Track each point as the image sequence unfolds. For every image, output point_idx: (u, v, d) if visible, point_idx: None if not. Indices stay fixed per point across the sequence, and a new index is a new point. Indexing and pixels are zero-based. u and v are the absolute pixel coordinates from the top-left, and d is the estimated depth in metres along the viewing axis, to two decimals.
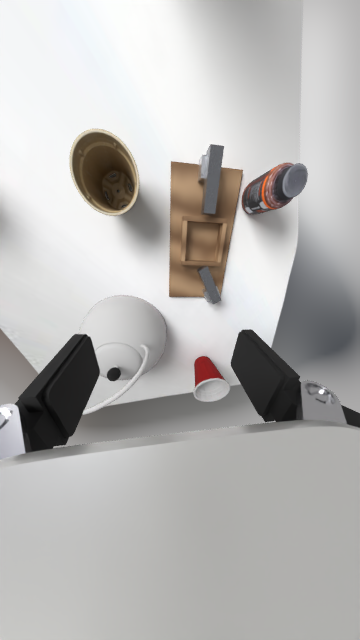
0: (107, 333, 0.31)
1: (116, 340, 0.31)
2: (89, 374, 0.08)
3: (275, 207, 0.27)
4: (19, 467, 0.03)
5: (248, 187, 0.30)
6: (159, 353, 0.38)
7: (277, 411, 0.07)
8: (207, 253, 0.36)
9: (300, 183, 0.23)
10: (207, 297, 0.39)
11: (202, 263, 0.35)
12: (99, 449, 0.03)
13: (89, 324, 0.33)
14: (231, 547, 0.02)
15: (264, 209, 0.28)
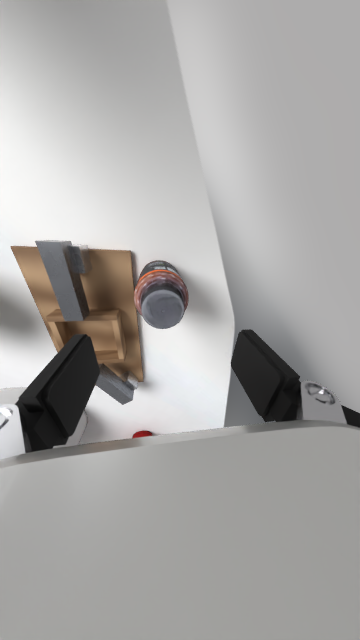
0: None
1: None
2: (89, 374, 0.08)
3: None
4: (19, 467, 0.03)
5: (140, 274, 0.21)
6: None
7: (277, 411, 0.07)
8: (109, 343, 0.27)
9: (173, 312, 0.14)
10: None
11: None
12: (99, 449, 0.03)
13: None
14: (231, 547, 0.02)
15: None
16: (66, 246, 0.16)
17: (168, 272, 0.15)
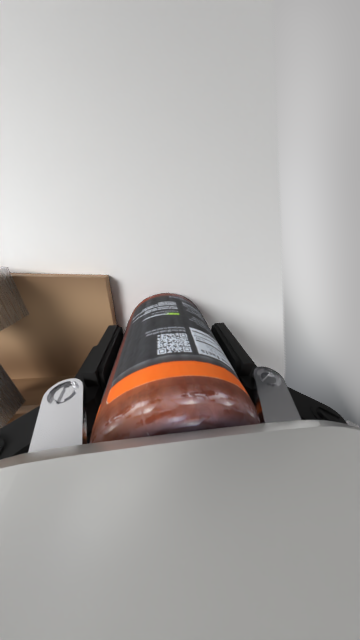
0: None
1: None
2: None
3: None
4: (19, 467, 0.03)
5: (127, 325, 0.10)
6: None
7: None
8: None
9: None
10: None
11: None
12: (99, 449, 0.03)
13: None
14: (231, 547, 0.02)
15: None
16: None
17: (206, 381, 0.04)
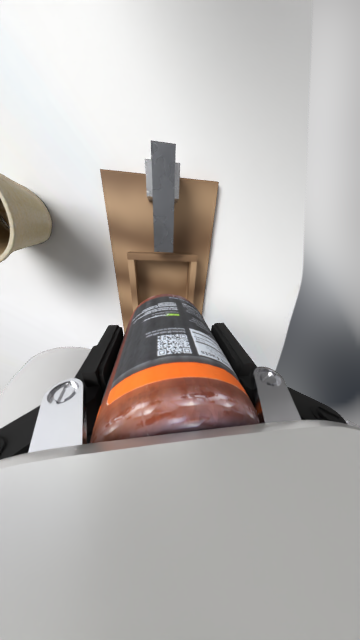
0: None
1: None
2: None
3: None
4: (19, 467, 0.03)
5: (127, 326, 0.10)
6: None
7: None
8: None
9: None
10: None
11: None
12: (99, 449, 0.03)
13: (1, 405, 0.22)
14: (231, 547, 0.02)
15: None
16: None
17: (206, 382, 0.04)
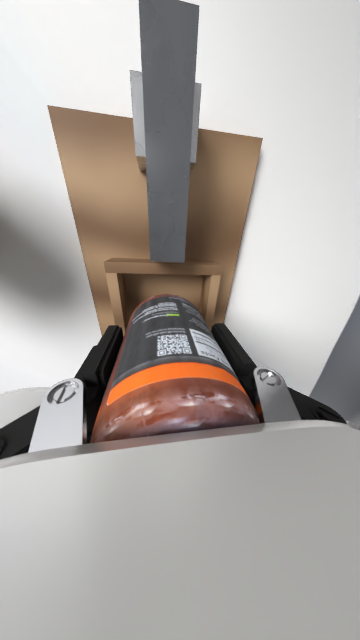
0: None
1: None
2: None
3: None
4: (19, 467, 0.03)
5: (127, 326, 0.10)
6: None
7: None
8: None
9: None
10: None
11: None
12: (99, 449, 0.03)
13: None
14: (231, 547, 0.02)
15: None
16: None
17: (206, 383, 0.04)
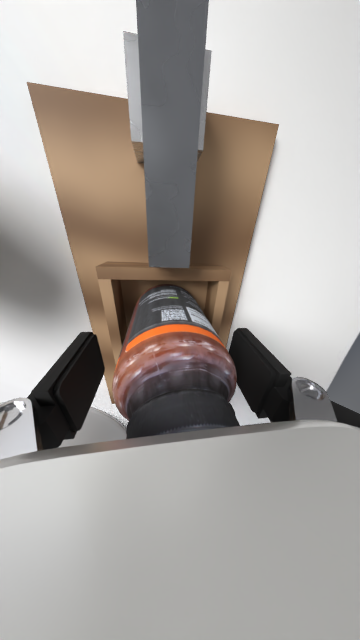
0: None
1: None
2: (95, 371, 0.08)
3: None
4: (19, 467, 0.03)
5: (134, 310, 0.12)
6: None
7: (269, 407, 0.07)
8: None
9: None
10: None
11: None
12: (99, 449, 0.03)
13: None
14: (231, 547, 0.02)
15: None
16: None
17: (196, 335, 0.06)
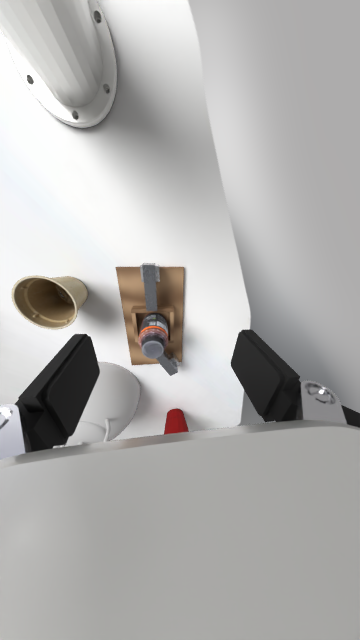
0: None
1: (80, 419, 0.33)
2: (89, 374, 0.08)
3: None
4: (19, 467, 0.03)
5: (142, 322, 0.35)
6: (128, 419, 0.40)
7: (277, 411, 0.07)
8: None
9: (158, 351, 0.27)
10: None
11: None
12: (99, 449, 0.03)
13: None
14: (231, 547, 0.02)
15: None
16: None
17: (156, 328, 0.29)
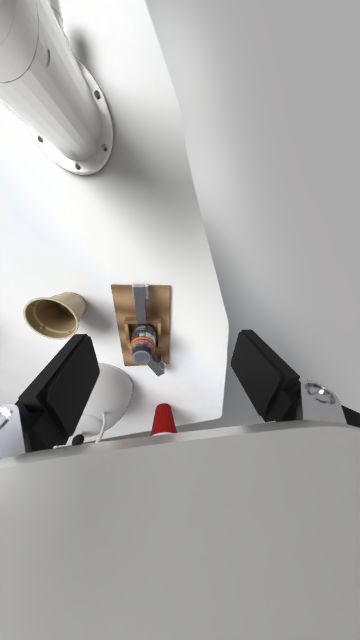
0: None
1: None
2: (89, 374, 0.08)
3: None
4: (19, 467, 0.03)
5: None
6: (121, 412, 0.46)
7: (277, 411, 0.07)
8: None
9: (145, 358, 0.33)
10: None
11: None
12: (99, 449, 0.03)
13: None
14: (231, 547, 0.02)
15: None
16: (144, 288, 0.34)
17: (144, 339, 0.34)
